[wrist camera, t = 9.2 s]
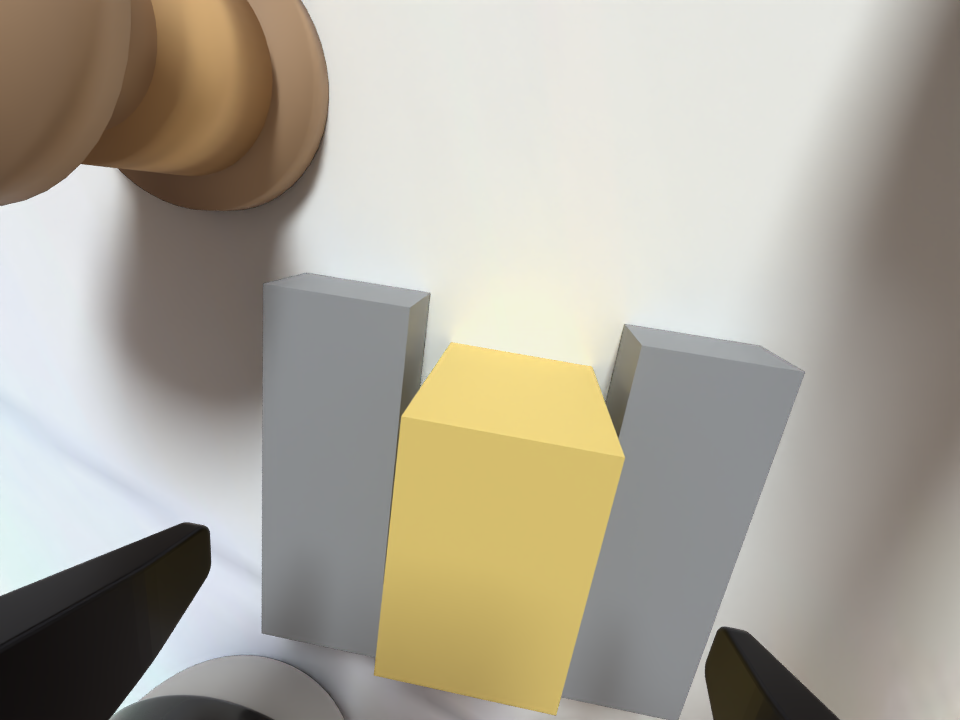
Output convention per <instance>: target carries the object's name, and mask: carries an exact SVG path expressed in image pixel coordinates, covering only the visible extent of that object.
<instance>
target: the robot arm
mask: <svg viewBox="0 0 960 720" xmlns="http://www.w3.org/2000/svg"><path fill="white" fill-rule="evenodd" d="M210 567H211V545H210V531H209V529H208V527H206V526H204V525H200V524H194V523H189V522H185V523H181V524H178V525H176V526H173V527H171V528H168V529H166V530H163V531H161V532H158V533H156V534H153V535H151V536H148V537H146V538H143V539H141V540H139V541H136V542H134V543H131V544H129V545H126V546H124V547H121V548H119V549H116V550H114V551H111V552H109V553H106V554H104V555H101V556H99V557H96V558H94V559H91V560H89V561H86V562H84V563H81V564H79V565H76V566H74V567H71V568H69V569H66V570H64V571H61V572H59V573H56V574H54V575H52V576H49V577H47V578H44V579H42V580H39V581H37V582H34V583H32V584H29V585H27V586H24V587H22V588H19V589H17V590H14V591H12V592H9V593H7V594H4V595H2V596H0V720H109V719H110V718H111V717H112V715H113V714H114V713H115V711H116V710H117V709H118V707H119V706H120V705H121V704H122V702H123V701H124V700H125V698H126V697H127V696H128V694H129V693H130V692H131V690H132V689H133V688H134V686H135V685H136V684H137V683H138V681H139V680H140V679H141V677H142V676H143V675H144V673H145V672H146V670H147V669H148V668H149V666H150V665H151V664H152V662H153V661H154V659H155V658H156V656H157V655H158V653H159V652H160V650H161V649H162V647H163V646H164V644H165V643H166V641H167V640H168V638H169V636H170V635H171V633H172V632H173V630H174V628H175V627H176V625H177V624H178V622H179V621H180V619H181V617H182V616H183V614H184V613H185V611H186V610H187V608H188V606H189V605H190V603H191V602H192V600H193V598H194V597H195V595H196V594H197V592H198V591H199V589H200V587H201V586H202V584H203V583H204V581H205V579H206V578H207V576H208V574H209V571H210ZM705 679H706V684H707V689H708V694H709V699H710V705H711V710H712V715H713V720H840V719H839V718H838V717H837V716H836V715H835V714H833V713H832V712H831V711H830V710H829V709H828V708H827V707H826V706H825V705H824V704H823V703H822V702H821V701H820V700H819V699H818V698H817V697H816V696H815V695H814V694H813V693H812V692H810V691H809V690H808V689H807V688H806V687H805V686H804V685H803V684H802V683H801V682H800V681H799V680H798V679H797V678H796V677H795V676H794V675H793V674H792V673H791V672H790V671H788V670H787V669H786V668H785V667H784V666H783V665H782V664H781V663H780V662H779V661H778V660H777V659H776V658H775V657H774V656H773V655H772V654H771V653H770V652H769V651H768V650H767V649H765V648H764V647H763V646H762V645H761V644H760V643H759V642H758V641H757V640H756V639H755V638H754V637H753V636H752V635H751V634H749V633H748V632H747V631H744V630H740V629H735V628H730V627H721V628H719V629H718V631H717V633H716V635H715V638H714V641H713V644H712V646H711V649H710V652H709V655H708V658H707V660H706V664H705Z"/></svg>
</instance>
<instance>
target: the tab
mask: <svg viewBox="0 0 960 720" xmlns="http://www.w3.org/2000/svg"><path fill="white" fill-rule="evenodd" d="M624 460H625V456H624V453H623V450H622V448H621V445H620V442H619V439H618V437H617V434H616V431H615V428H614V426H613V423H612V420H611V417H610V415H609V412H608V409H607V406H606V404H605V401H604V398H603V395H602V393H601V390H600V387H599V384H598V382H597V379H596V376H595V373H594V371H593V368H592V367H591V366H585V365H579V364H573V363H568V362H562V361H556V360H550V359H545V358H539V357H533V356H527V355H521V354H516V353H510V352H504V351H498V350H493V349H487V348H481V347H475V346H470V345H464V344H458V343H452V342H451V343H450V345H449V346H448V348H447V349H446V351H445V352H444V354H443V355H442V357H441V358H440V360H439V361H438V362H437V364H436V365H435V367H434V368H433V370H432V371H431V373H430V374H429V376H428V377H427V379H426V380H425V382H424V383H423V385H422V386H421V388H420V389H419V391H418V392H417V394H416V395H415V397H414V398H413V400H412V401H411V403H410V404H409V406H408V407H407V409H406V410H405V411H404V413H403V414H402V416H401V424H400V434H399V443H398V452H397V462H396V471H395V481H394V490H393V499H392V509H391V518H390V528H389V537H388V546H387V556H386V565H385V575H384V584H383V593H382V603H381V612H380V622H379V631H378V640H377V650H376V659H375V669H374V675H375V676H379V677H384V678H388V679H393V680H397V681H402V682H406V683H411V684H415V685H420V686H424V687H429V688H433V689H438V690H443V691H447V692H452V693H456V694H461V695H465V696H470V697H474V698H479V699H483V700H488V701H492V702H497V703H501V704H506V705H510V706H515V707H519V708H524V709H529V710H533V711H538V712H542V713H547V714H551V715H556V714H557V710H558V706H559V703H560V699H561V695H562V691H563V688H564V684H565V680H566V677H567V673H568V669H569V665H570V662H571V658H572V654H573V650H574V647H575V643H576V639H577V635H578V632H579V628H580V624H581V620H582V617H583V613H584V609H585V606H586V602H587V598H588V594H589V591H590V587H591V583H592V579H593V576H594V572H595V568H596V564H597V561H598V557H599V553H600V550H601V546H602V542H603V538H604V535H605V531H606V527H607V523H608V520H609V516H610V512H611V508H612V505H613V501H614V497H615V493H616V490H617V486H618V482H619V479H620V475H621V471H622V467H623V464H624Z"/></svg>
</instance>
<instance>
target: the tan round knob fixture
mask: <svg viewBox="0 0 960 720" xmlns="http://www.w3.org/2000/svg"><path fill="white" fill-rule="evenodd" d="M328 100H329V96H328V75H327V68H326V61H325V57H324V53H323V49H322V45H321V42H320V39H319V36H318V34H317V31H316V28H315V26H314V23H313V21H312V19H311V17H310V15H309V13H308V11H307V9H306V8H305V6H304V5H303V3H302V1H301V0H0V206H3V205H7V204H11V203H16V202H20V201H24V200H27V199H29V198H31V197H34V196H36V195H38V194H41V193H43V192H45V191H47V190H49V189H50V188H52V187H53V186H55V185H56V184H58V183H59V182H61V181H62V180H64V179H65V178H66V177H67V176H68V175H69V174H70V173H72V172H73V171H74V170H75V169H76V168H77V167H78V166H79V165H80V164H85V165H94V166H103V167H112V168H118V169H119V170H120V171H121V172H122V173H123V174H124V175H125V176H127V177H128V178H129V179H130V180H131V181H132V182H134V183H135V184H136V185H138V186H139V187H141V188H142V189H143V190H145V191H146V192H148V193H150V194H152V195H153V196H155V197H157V198H159V199H161V200H163V201H166V202H169V203H171V204H174V205H177V206H180V207H185V208H189V209H195V210H208V211H233V210H244V209H249V208H253V207H257V206H260V205H262V204H265V203H267V202H270V201H271V200H273V199H275V198H277V197H278V196H280V195H282V194H283V193H284V192H285V191H287V190H288V189H289V188H290V187H292V186H293V184H294V183H295V182H296V181H297V180H298V179H299V178H300V177H301V176H302V175H303V173H304V172H305V170H306V169H307V167H308V166H309V165H310V163H311V161H312V159H313V157H314V155H315V153H316V151H317V149H318V147H319V144H320V141H321V138H322V135H323V132H324V128H325V123H326V118H327V110H328Z"/></svg>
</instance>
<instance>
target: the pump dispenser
mask: <svg viewBox="0 0 960 720" xmlns="http://www.w3.org/2000/svg"><path fill="white" fill-rule="evenodd" d="M109 720H344V719H343V716H342V714H341V712H340V711H339V709H338V707H337V705H336V704H335V703H334V701H333V700H332V698H331V697H330V696H329V694H328V693H327V692H326V691H325V690H324V689H323V688H322V687H321V686H320V685H319V684H318V683H317V682H316V681H314V680H313V679H312V678H311V677H309V676H308V675H307V674H305V673H304V672H302V671H300V670H299V669H297V668H295V667H293V666H291V665H288V664H286V663H284V662H281V661H278V660H274V659H271V658H266V657H261V656H253V655H234V656H225V657H220V658H215V659H211V660H208V661H205V662H202V663H199V664H196V665H194V666H191V667H189V668H187V669H185V670H183V671H181V672H179V673H177V674H175V675H174V676H172V677H170V678H169V679H167V680H166V681H164V682H163V683H161V684H160V685H158V686H157V687H155V688H154V689H153V690H151V691H150V692H149V693H148V694H146V695H145V696H144V697H143V698H142V699H140V700H139V701H138V702H136V703H133V704H131V705H129V706H127V707H125V708H123V709H121V710H120V711H118V712H117V713H115V714H114V715H113V716H112V717H111V718H110V719H109Z"/></svg>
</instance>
